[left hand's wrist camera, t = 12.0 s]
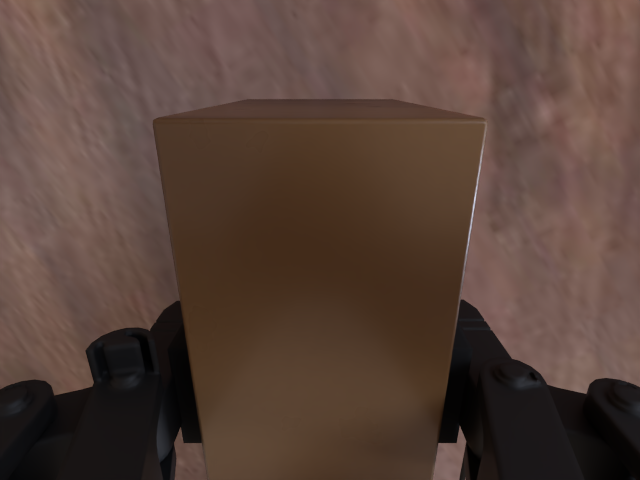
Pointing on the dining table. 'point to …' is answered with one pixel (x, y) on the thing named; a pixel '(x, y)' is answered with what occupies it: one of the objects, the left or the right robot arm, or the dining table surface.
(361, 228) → the beam
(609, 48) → the dining table surface
